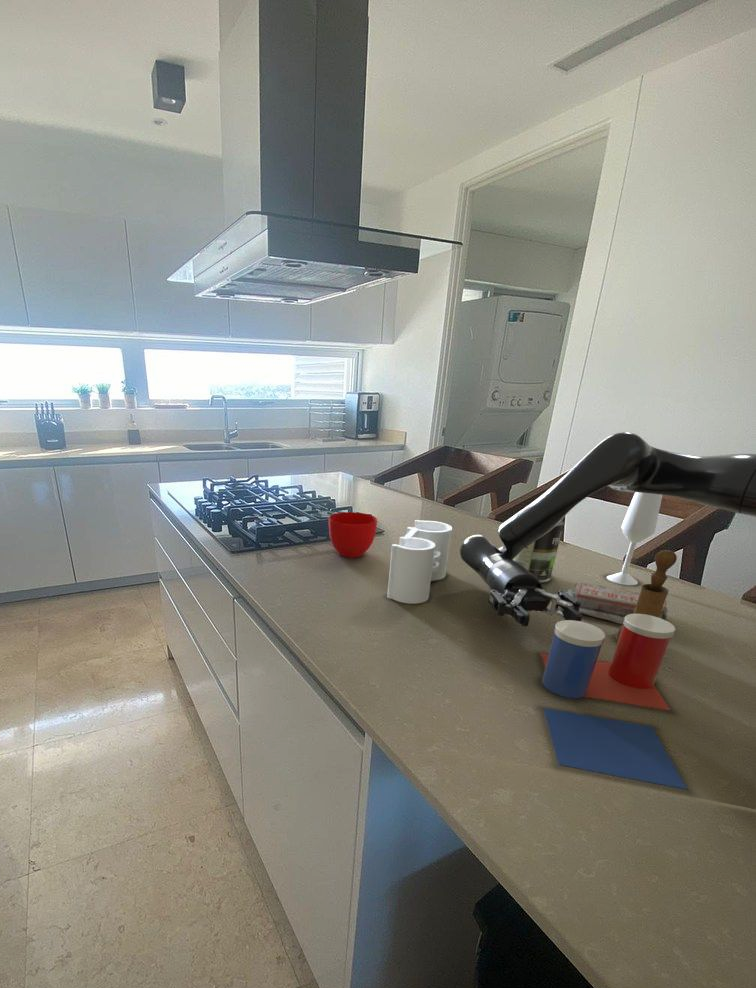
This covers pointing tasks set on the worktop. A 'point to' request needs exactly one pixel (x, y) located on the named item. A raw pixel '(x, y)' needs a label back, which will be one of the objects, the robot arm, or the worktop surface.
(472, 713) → the worktop surface
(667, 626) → the red canister
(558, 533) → the coffee can
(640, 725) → the blue mat
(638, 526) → the champagne flute
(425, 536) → the bracket
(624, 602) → the packaged product
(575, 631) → the blue canister
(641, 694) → the terracotta mat
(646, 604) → the mortar and pestle
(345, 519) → the ceramic cup
